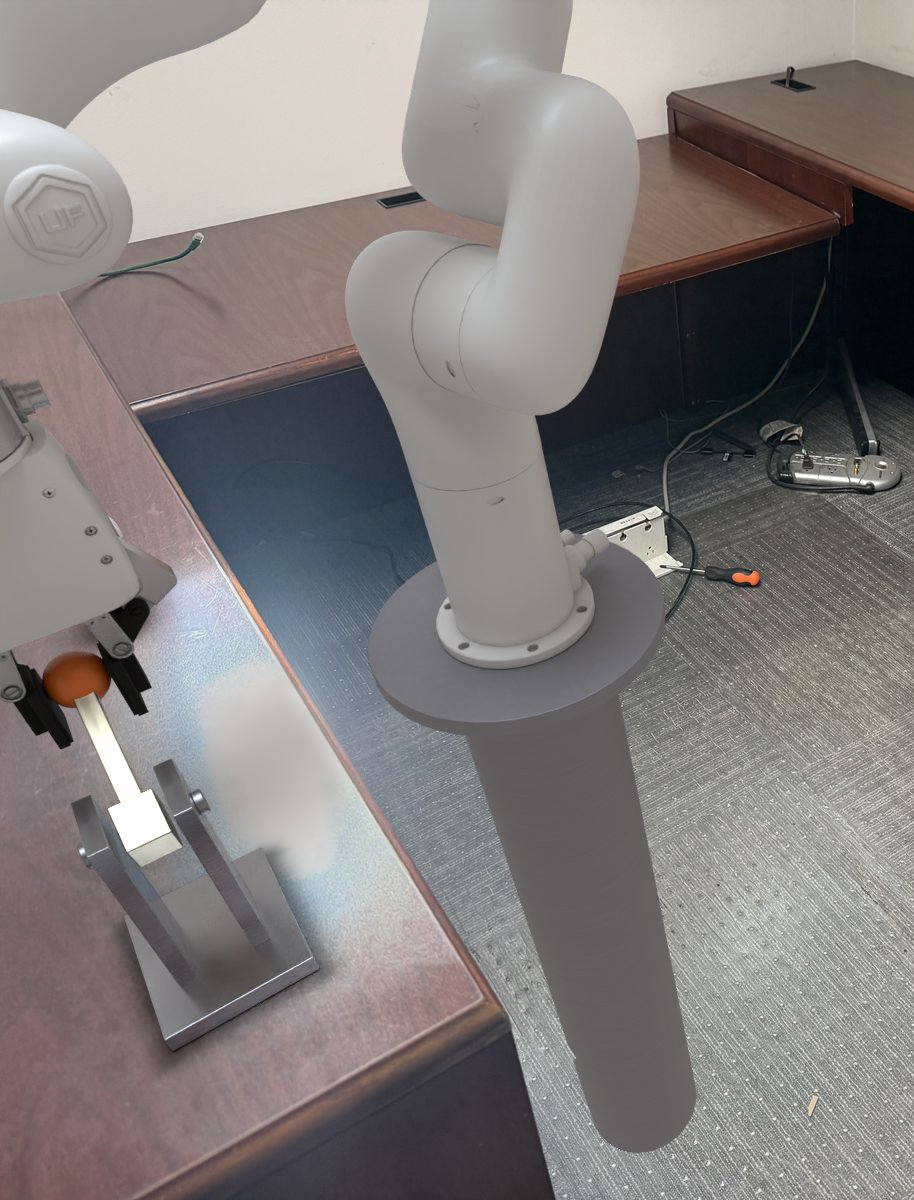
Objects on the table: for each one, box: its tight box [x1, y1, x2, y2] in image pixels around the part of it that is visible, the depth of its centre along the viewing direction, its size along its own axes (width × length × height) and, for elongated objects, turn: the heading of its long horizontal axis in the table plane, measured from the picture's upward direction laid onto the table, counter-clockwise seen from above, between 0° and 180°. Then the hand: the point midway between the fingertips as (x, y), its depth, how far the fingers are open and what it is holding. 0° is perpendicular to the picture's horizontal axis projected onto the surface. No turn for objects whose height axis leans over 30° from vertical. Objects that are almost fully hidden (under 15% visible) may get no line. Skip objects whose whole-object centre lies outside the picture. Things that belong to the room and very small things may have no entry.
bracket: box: [69, 758, 320, 1052], centre depth 60 cm, size 10×8×13 cm
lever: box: [41, 649, 184, 868], centre depth 59 cm, size 13×3×3 cm, turn 39°
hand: (99, 715), depth 62 cm, fingers closed on lever, 3 cm apart
